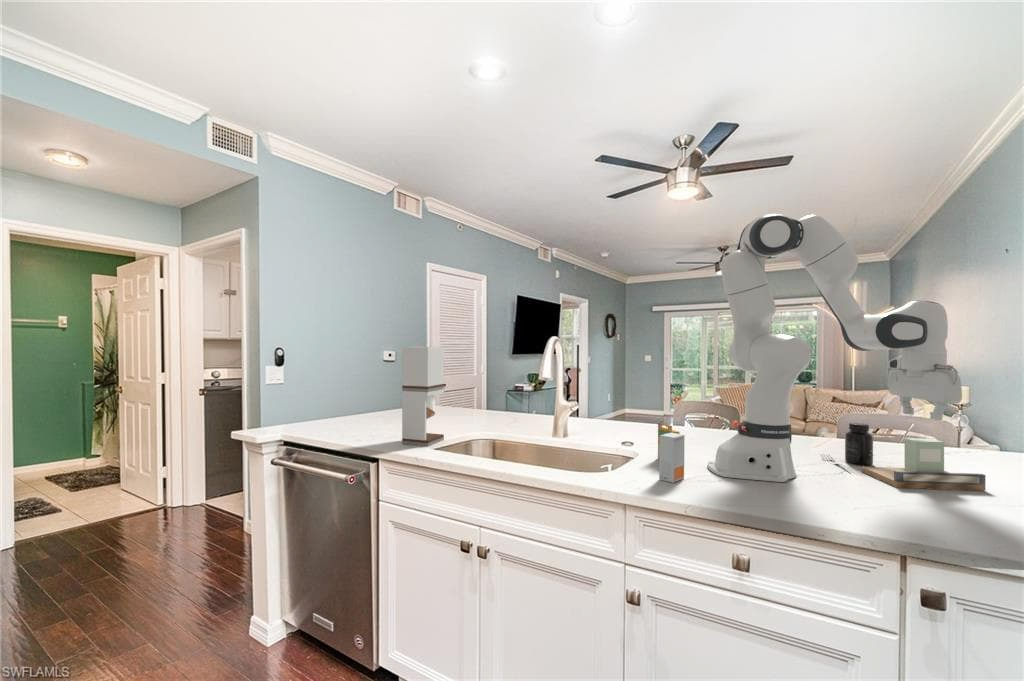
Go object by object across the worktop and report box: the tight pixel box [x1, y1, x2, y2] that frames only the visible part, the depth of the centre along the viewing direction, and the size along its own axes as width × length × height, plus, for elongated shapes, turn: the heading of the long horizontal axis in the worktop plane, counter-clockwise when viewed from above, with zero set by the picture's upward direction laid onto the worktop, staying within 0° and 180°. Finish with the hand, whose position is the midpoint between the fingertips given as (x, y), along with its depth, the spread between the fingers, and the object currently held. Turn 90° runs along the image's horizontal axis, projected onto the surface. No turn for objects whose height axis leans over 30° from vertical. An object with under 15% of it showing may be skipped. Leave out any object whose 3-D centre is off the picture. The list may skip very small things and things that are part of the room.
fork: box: [820, 453, 856, 474], centre depth 133 cm, size 3×24×2 cm, turn 168°
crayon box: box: [657, 421, 681, 460], centre depth 141 cm, size 7×3×12 cm, turn 16°
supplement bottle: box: [844, 422, 874, 467], centre depth 139 cm, size 7×7×12 cm
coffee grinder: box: [401, 346, 445, 447], centre depth 168 cm, size 11×11×35 cm
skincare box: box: [658, 433, 685, 484], centre depth 123 cm, size 6×4×12 cm
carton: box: [904, 437, 945, 473], centre depth 118 cm, size 4×6×10 cm, turn 83°
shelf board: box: [861, 466, 986, 491], centre depth 121 cm, size 20×14×4 cm
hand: (921, 416), depth 118 cm, fingers open, 8 cm apart
